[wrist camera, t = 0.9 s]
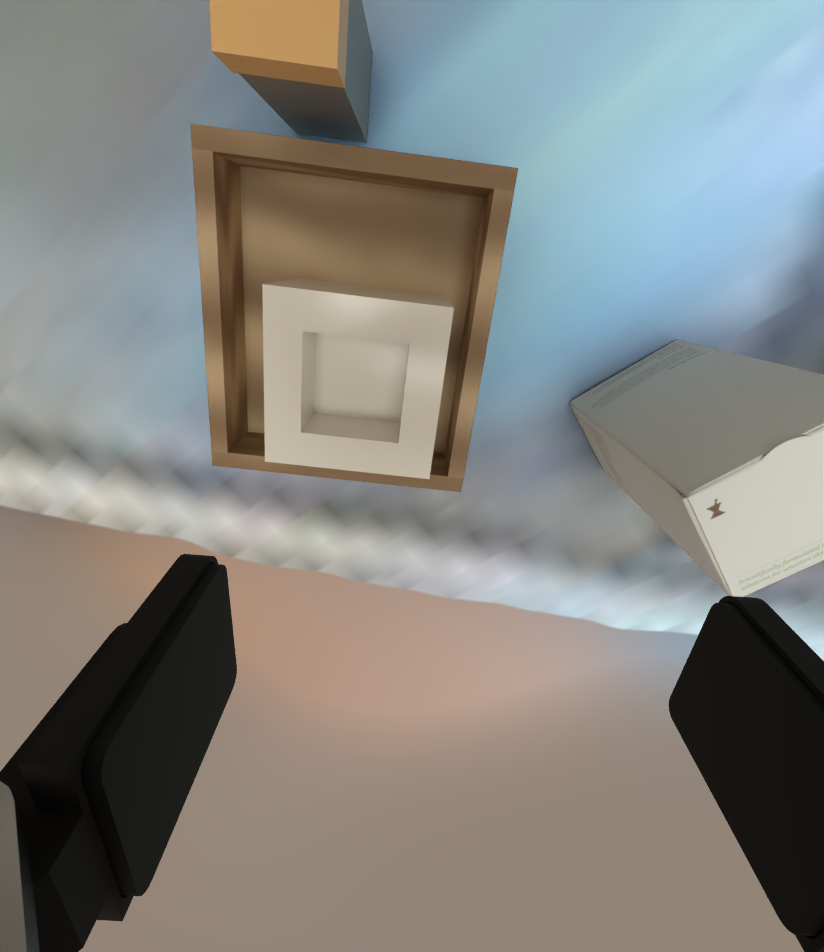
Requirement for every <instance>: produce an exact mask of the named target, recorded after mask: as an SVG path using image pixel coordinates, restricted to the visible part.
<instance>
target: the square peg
mask: <svg viewBox="0 0 824 952" xmlns="http://www.w3.org/2000/svg"><path fill="white" fill-rule="evenodd" d="M210 22H211V43H212V52H213V53H214V54H215V55H216V56H217V57H218V58H219V59H220V60H221V61H222V62H223V63H224V64H225V65H226V66H227V67H228V68H229V69H230V70H231V71H232V72H235V73H239V74H240V75H241V76H242V77H243V78H244V79H245V80H246V81H247V82H248V83H249V84H250V85H251V86H252V87H253V88H254V89H255V91H256V92H257V93H258V94H259V95H260V96H261V97H262V98H263V99H264V100H265V101H266V102H267V103H268V104H269V105H270V106H271V107H272V108H273V109H274V110H275V112H276V113H277V114H278V115H279V116H280V117H281V118H282V119H283V120H284V121H285V122H286V123H287V124H288V125H289V126H290V127H291V128H292V129H293V130H294V131H295V133H298V134H306V135H313V136H320V137H328V138H335V139H342V140H350V141H357V142H364V143H367V134H368V118H369V102H370V86H371V71H372V55H373V53H372V48H371V43H370V38H369V34H368V29H367V24H366V19H365V14H364V10H363V5H362V0H210Z"/></svg>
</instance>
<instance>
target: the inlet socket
mask: <svg viewBox="0 0 824 952" xmlns="http://www.w3.org/2000/svg"><path fill="white" fill-rule="evenodd" d="M262 294H263V363H264V432H265V462H274V463H283V464H292V465H302V466H311V467H320V468H330V469H339V470H348V471H358V472H367V473H376V474H385V475H395V476H404V477H413V478H423V479H429V478H430V471H431V464H432V457H433V451H434V444H435V437H436V430H437V423H438V416H439V409H440V402H441V395H442V388H443V381H444V374H445V367H446V360H447V353H448V346H449V339H450V332H451V325H452V318H453V312H454V307H453V306H452V304H451V303H450V302H449V301H448V299H447V298H446V297H445V296H443V295H435V294H427V293H419V292H411V291H403V290H395V289H387V288H379V287H371V286H363V285H355V284H347V283H338V282H330V281H322V280H314V279H306V278H296V279H290V280H284V281H278V282H272V283H266V284H262Z"/></svg>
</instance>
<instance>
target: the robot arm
mask: <svg viewBox="0 0 824 952" xmlns="http://www.w3.org/2000/svg"><path fill="white" fill-rule="evenodd" d="M235 656H236V655H235V647H234V637H233V626H232V617H231V607H230V599H229V588H228V578H227V570H226V567H225V566H224V565H218V562H217V559H216V558H215V557H214V556H204V555H190V554H183V555H181V556H180V557H179V558H178V559H177V560H176V561H175V563H174V564H173V565H172V566H171V568H170V569H169V570H168V572H167V573H166V574H165V575H164V577H163V578H162V579H161V581H160V582H159V583H158V585H157V586H156V587H155V588H154V590H153V591H152V592H151V593H150V595H149V596H148V597H147V599H146V600H145V601H144V602H143V604H142V605H141V606H140V608H139V609H138V610H137V612H136V613H135V614H134V615H133V617H132V618H131V619H130V620H129V622H128V623H124V624H122V625H120V626H118V627H117V628H116V629H115V630H114V631H113V632H112V633H111V634H110V635H109V637H108V638H107V639H106V640H105V642H104V643H103V644H102V645H101V647H100V648H99V649H98V650H97V652H96V653H95V654H94V655H93V657H92V658H91V659H90V661H89V662H88V663H87V664H86V665H85V667H84V668H83V669H82V670H81V672H80V673H79V674H78V675H77V677H76V678H75V679H74V680H73V682H72V683H71V684H70V685H69V687H68V688H67V689H66V690H65V692H64V693H63V694H62V695H61V697H60V698H59V699H58V700H57V702H56V703H55V704H54V705H53V707H52V708H51V709H50V710H49V712H48V713H47V714H46V715H45V717H44V718H43V719H42V720H41V722H40V723H39V724H38V725H37V727H36V728H35V729H34V730H33V732H32V733H31V734H30V735H29V737H28V738H27V739H26V740H25V742H24V743H23V744H22V745H21V747H20V748H19V749H18V750H17V752H16V753H15V754H14V755H13V757H12V758H11V759H10V760H9V762H8V763H7V764H6V765H5V767H4V768H3V769H2V770H1V772H0V952H78V951H79V950H81V949H82V948H83V947H84V945H85V942H86V940H87V938H88V936H89V934H90V932H91V930H92V928H93V926H94V924H95V922H96V920H110V921H123V919H124V916H125V914H126V912H127V910H128V907H129V905H130V903H131V900H132V898H133V896H142V895H143V894H144V893H145V892H146V890H147V888H148V887H149V885H150V883H151V881H152V879H153V876H154V874H155V871H156V869H157V867H158V864H159V862H160V860H161V857H162V855H163V853H164V850H165V848H166V846H167V843H168V841H169V838H170V836H171V834H172V831H173V829H174V826H175V824H176V822H177V820H178V817H179V815H180V812H181V810H182V808H183V805H184V803H185V801H186V798H187V796H188V794H189V791H190V789H191V786H192V784H193V782H194V779H195V777H196V775H197V772H198V770H199V767H200V765H201V763H202V760H203V758H204V756H205V753H206V751H207V749H208V746H209V744H210V741H211V739H212V736H213V734H214V732H215V730H216V727H217V725H218V722H219V720H220V718H221V715H222V713H223V711H224V708H225V706H226V704H227V701H228V699H229V696H230V694H231V692H232V689H233V687H234V683H235V679H236V673H237V665H236V657H235ZM669 711H670V715H671V718H672V720H673V722H674V723H675V726H676V727H677V729H678V731H679V733H680V735H681V737H682V739H683V740H684V742H685V744H686V746H687V748H688V750H689V752H690V754H691V755H692V757H693V759H694V761H695V763H696V765H697V766H698V768H699V770H700V772H701V774H702V776H703V778H704V779H705V781H706V783H707V785H708V787H709V789H710V791H711V792H712V794H713V796H714V798H715V800H716V802H717V804H718V805H719V807H720V809H721V811H722V813H723V815H724V817H725V819H726V821H727V822H728V824H729V826H730V828H731V830H732V832H733V833H734V835H735V837H736V839H737V841H738V843H739V845H740V846H741V848H742V850H743V852H744V854H745V856H746V858H747V860H748V861H749V863H750V865H751V867H752V869H753V871H754V873H755V875H756V876H757V878H758V880H759V882H760V884H761V886H762V887H763V889H764V891H765V893H766V895H767V897H768V899H769V901H770V902H771V904H772V906H773V908H774V910H775V912H776V914H777V915H778V917H779V919H780V920H781V922H782V924H783V925H784V926H785V927H786V928H787V929H788V930H789V931H790V932H792V933H793V934H795V935H796V937H797V939H798V941H799V943H800V944H801V946H802V948H803V950H804V952H824V661H823V660H822V659H821V658H820V657H819V656H818V655H817V654H816V653H815V652H814V651H813V650H812V649H811V648H810V647H809V646H808V645H807V644H806V643H805V642H804V641H803V640H802V639H801V638H800V637H799V636H798V635H797V634H796V633H795V632H794V631H793V630H792V629H791V628H790V627H789V626H788V625H787V624H786V623H785V622H784V621H783V619H782V618H781V617H780V616H779V615H778V614H777V613H776V612H775V611H774V610H773V609H772V608H771V607H770V606H769V605H768V604H767V603H766V602H764V601H763V600H761V599H758V598H750V597H737V596H725V597H723V598H722V599H721V600H720V601H719V603H715V604H714V605H713V606H712V607H711V609H710V611H709V613H708V615H707V618H706V620H705V622H704V624H703V626H702V629H701V631H700V633H699V635H698V637H697V640H696V642H695V644H694V646H693V648H692V651H691V653H690V655H689V657H688V659H687V662H686V664H685V666H684V668H683V670H682V673H681V675H680V677H679V679H678V681H677V683H676V686H675V688H674V690H673V692H672V694H671V697H670V700H669Z"/></svg>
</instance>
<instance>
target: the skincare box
mask: <svg viewBox="0 0 824 952" xmlns="http://www.w3.org/2000/svg"><path fill="white" fill-rule="evenodd" d="M570 406H571V408H572V410H573V412H574V414H575V416H576V418H577V420H578V422H579V424H580V426H581V428H582V430H583V432H584V434H585V436H586V438H587V440H588V441H589V443H590V445H591V447H592V449H593V451H594V453H595V455H596V457H597V459H598V460H599V462H600V464H601V466H602V468H603V470H604V471H605V472H606V473H607V474H608V475H609V476H610V477H611V478H612V479H613V480H614V481H615V482H616V483H617V484H618V485H619V486H620V487H621V488H622V489H623V490H624V491H625V492H626V493H627V494H628V495H629V496H630V497H631V498H632V499H633V500H634V501H635V502H636V503H637V504H638V505H639V506H640V507H641V508H642V509H643V510H644V511H645V512H646V513H647V514H648V515H649V516H650V517H651V518H652V519H653V520H654V521H655V522H656V523H657V524H658V525H659V526H660V527H661V528H662V529H663V530H664V531H665V532H666V533H667V534H668V535H669V536H670V537H671V538H672V539H673V540H674V541H675V542H676V543H677V544H678V545H679V546H680V547H681V548H682V549H683V550H684V551H685V552H686V553H687V554H688V555H689V556H690V557H691V558H692V559H693V560H694V561H695V562H696V563H697V564H698V565H699V566H700V567H701V568H702V569H703V570H704V571H705V572H706V573H707V574H708V575H709V576H710V577H711V578H712V579H713V580H714V581H715V582H716V583H717V584H718V585H719V586H720V587H721V588H722V589H723V590H724V591H725V592H726V593H727V594H728V595H729V596H737V597H743V596H746V595H748V594H750V593H752V592H754V591H756V590H759V589H761V588H763V587H765V586H767V585H770V584H772V583H774V582H776V581H778V580H781V579H783V578H785V577H787V576H789V575H792V574H794V573H796V572H798V571H800V570H803V569H805V568H807V567H809V566H812V565H814V564H816V563H818V562H820V561H823V560H824V375H822V374H818V373H814V372H809V371H805V370H801V369H797V368H792V367H788V366H784V365H780V364H776V363H772V362H768V361H763V360H759V359H755V358H751V357H747V356H742V355H738V354H734V353H730V352H726V351H722V350H718V349H714V348H710V347H705V346H701V345H697V344H693V343H689V342H684V341H680V340H675V341H673V342H672V343H670V344H668V345H666V346H665V347H663V348H661V349H659V350H658V351H656V352H654V353H652V354H651V355H649V356H647V357H645V358H644V359H642V360H640V361H638V362H637V363H635V364H633V365H632V366H630V367H628V368H626V369H625V370H623V371H621V372H619V373H618V374H616V375H614V376H613V377H611V378H609V379H607V380H606V381H604V382H602V383H601V384H599V385H597V386H595V387H594V388H592V389H590V390H589V391H587V392H585V393H583V394H582V395H580V396H578V397H577V398H575V399H574V400H572V401H571V402H570Z"/></svg>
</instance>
